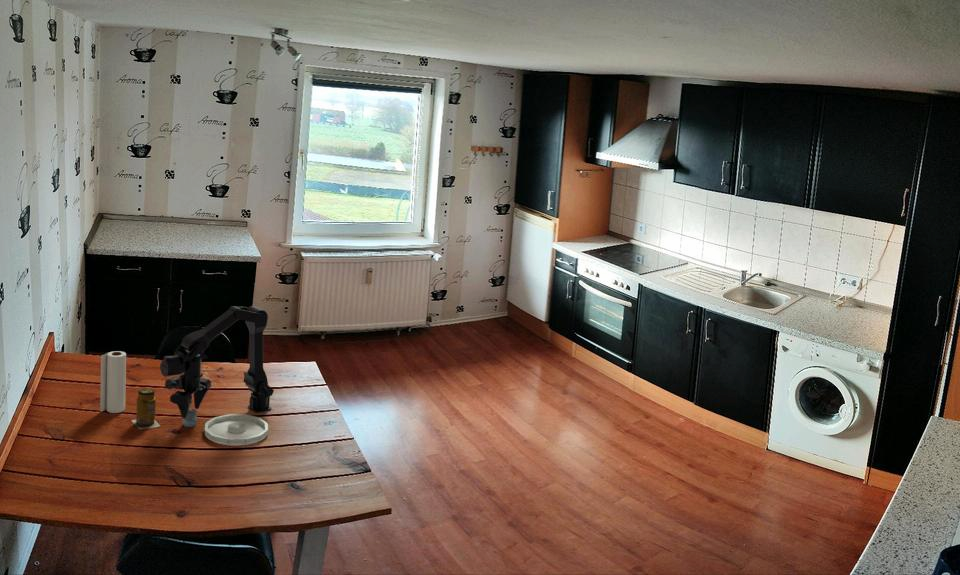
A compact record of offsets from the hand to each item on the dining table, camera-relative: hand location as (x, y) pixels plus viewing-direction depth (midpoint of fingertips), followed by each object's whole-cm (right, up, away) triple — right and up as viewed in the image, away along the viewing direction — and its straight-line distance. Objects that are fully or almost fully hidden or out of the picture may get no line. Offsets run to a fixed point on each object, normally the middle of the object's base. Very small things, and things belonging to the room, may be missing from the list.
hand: (190, 413), depth 291 cm
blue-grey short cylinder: (-1, -4, +1) cm, 4 cm away
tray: (+16, -6, -1) cm, 18 cm away
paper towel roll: (-29, 0, +5) cm, 29 cm away
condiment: (-15, -3, -3) cm, 15 cm away
